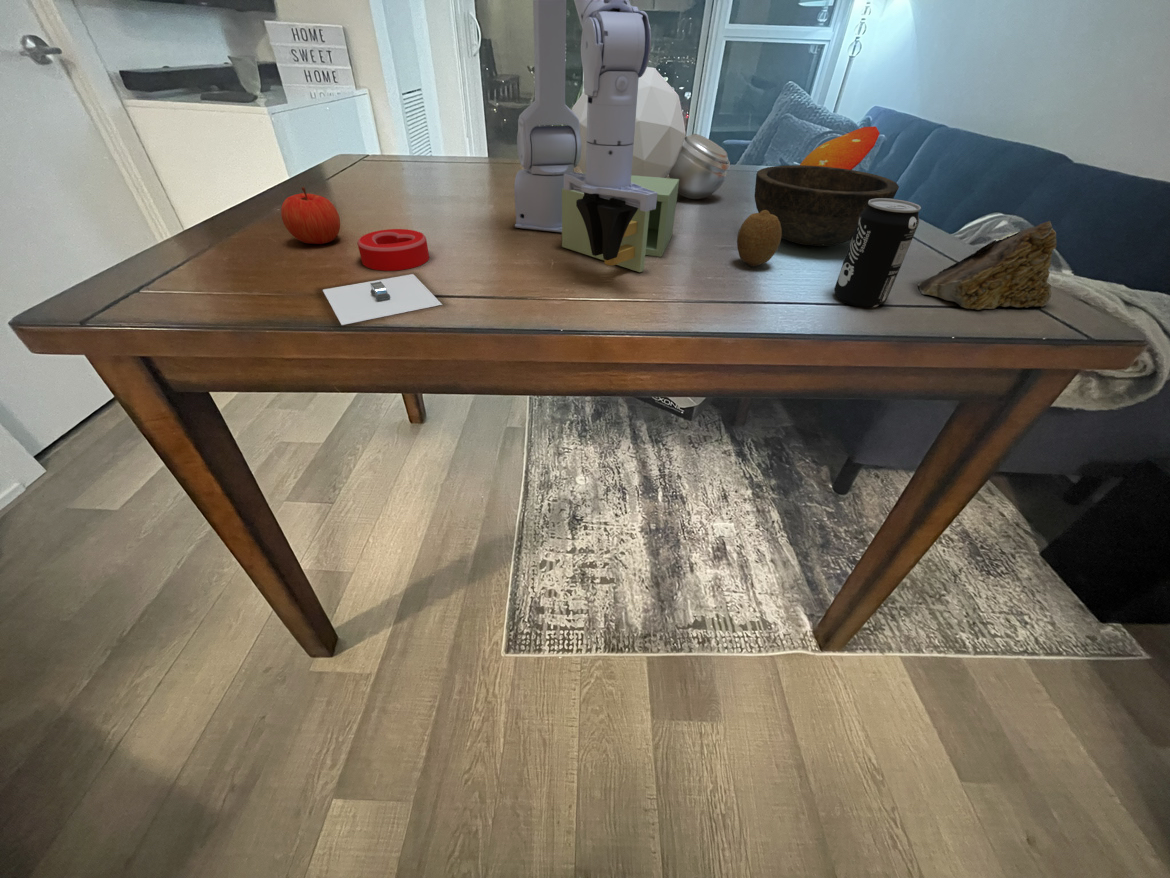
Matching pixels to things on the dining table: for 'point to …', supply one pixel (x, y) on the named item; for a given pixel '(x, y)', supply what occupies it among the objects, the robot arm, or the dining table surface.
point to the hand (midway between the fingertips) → (604, 256)
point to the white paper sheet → (379, 298)
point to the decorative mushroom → (844, 149)
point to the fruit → (759, 238)
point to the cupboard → (659, 212)
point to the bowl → (818, 200)
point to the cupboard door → (578, 239)
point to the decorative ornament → (393, 249)
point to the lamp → (666, 141)
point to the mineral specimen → (1000, 273)
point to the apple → (310, 218)
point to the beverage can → (876, 251)
